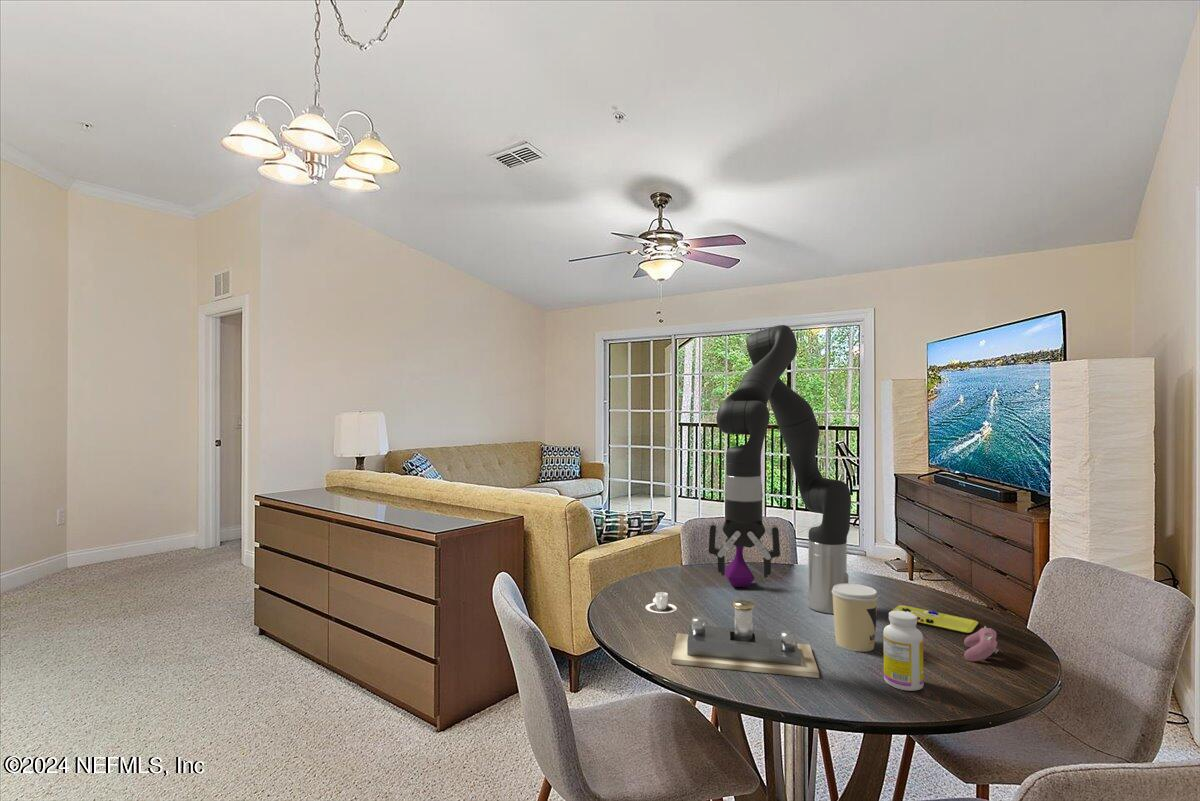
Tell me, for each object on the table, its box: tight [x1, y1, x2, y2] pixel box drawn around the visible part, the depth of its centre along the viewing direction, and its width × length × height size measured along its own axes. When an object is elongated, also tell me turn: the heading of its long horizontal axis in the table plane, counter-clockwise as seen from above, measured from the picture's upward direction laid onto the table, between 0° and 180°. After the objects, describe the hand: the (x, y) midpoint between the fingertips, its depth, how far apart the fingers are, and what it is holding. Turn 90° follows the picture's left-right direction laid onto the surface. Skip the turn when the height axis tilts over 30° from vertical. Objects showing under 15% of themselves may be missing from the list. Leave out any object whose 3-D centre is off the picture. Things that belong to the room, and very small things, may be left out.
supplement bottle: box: [882, 610, 925, 692], centre depth 111 cm, size 7×7×13 cm
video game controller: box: [963, 625, 999, 662], centre depth 124 cm, size 10×5×7 cm, turn 149°
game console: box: [891, 605, 979, 636], centre depth 146 cm, size 18×11×2 cm, turn 49°
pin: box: [732, 599, 755, 642], centre depth 123 cm, size 4×4×10 cm
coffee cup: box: [832, 583, 879, 653], centre depth 130 cm, size 9×9×12 cm
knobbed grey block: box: [687, 616, 801, 666], centre depth 123 cm, size 22×9×6 cm, turn 78°
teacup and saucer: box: [645, 591, 678, 614], centre depth 154 cm, size 9×8×4 cm
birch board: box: [670, 632, 820, 679], centre depth 123 cm, size 28×14×1 cm, turn 78°
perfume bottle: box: [725, 546, 755, 588], centre depth 173 cm, size 8×8×18 cm
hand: (743, 575), depth 123 cm, fingers open, 8 cm apart
